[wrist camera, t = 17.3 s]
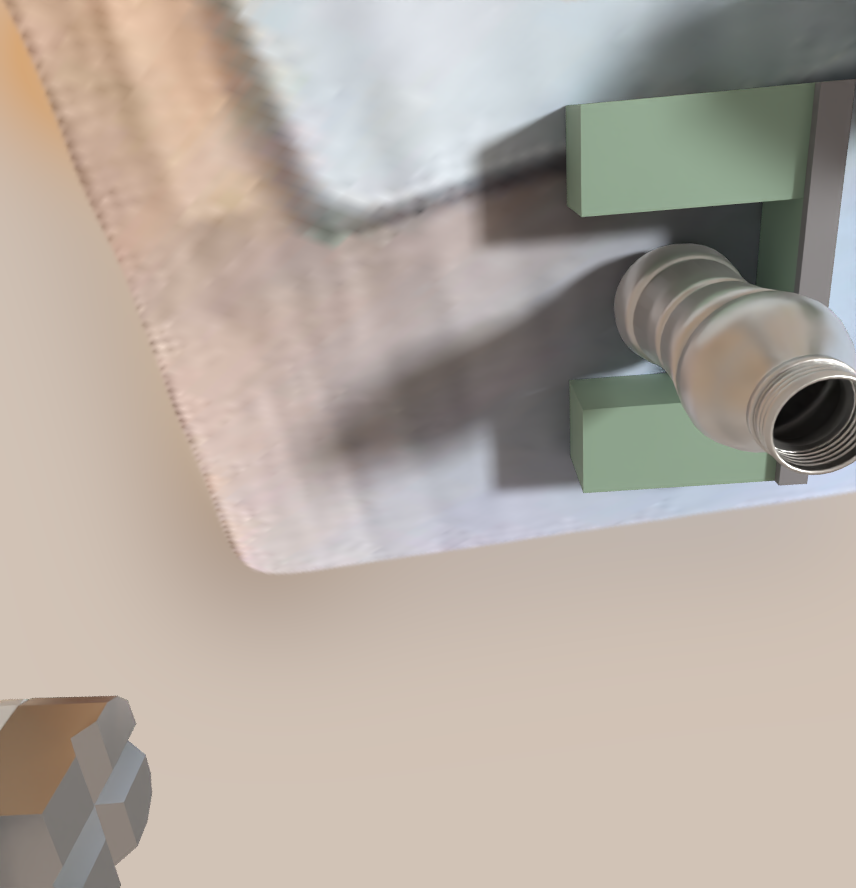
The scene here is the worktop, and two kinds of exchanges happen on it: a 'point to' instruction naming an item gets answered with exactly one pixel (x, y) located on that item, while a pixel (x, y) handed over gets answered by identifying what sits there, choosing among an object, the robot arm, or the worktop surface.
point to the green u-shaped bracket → (699, 185)
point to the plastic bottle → (744, 357)
